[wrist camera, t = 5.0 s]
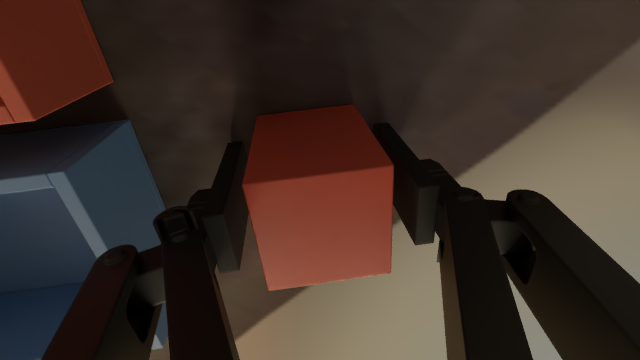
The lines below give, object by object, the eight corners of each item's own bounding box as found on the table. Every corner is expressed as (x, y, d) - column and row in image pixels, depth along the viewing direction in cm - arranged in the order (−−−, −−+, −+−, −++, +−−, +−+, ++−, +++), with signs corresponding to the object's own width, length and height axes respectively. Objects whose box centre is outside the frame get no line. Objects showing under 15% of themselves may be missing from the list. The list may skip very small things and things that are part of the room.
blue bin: (129, 118, 16) (63, 171, 11) (190, 268, 21) (163, 348, 16) (-142, 151, 15) (-334, 221, 10) (-11, 296, 20) (-101, 387, 16)
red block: (353, 103, 17) (394, 165, 10) (357, 186, 19) (391, 273, 13) (256, 115, 16) (241, 184, 10) (273, 197, 19) (268, 291, 13)
